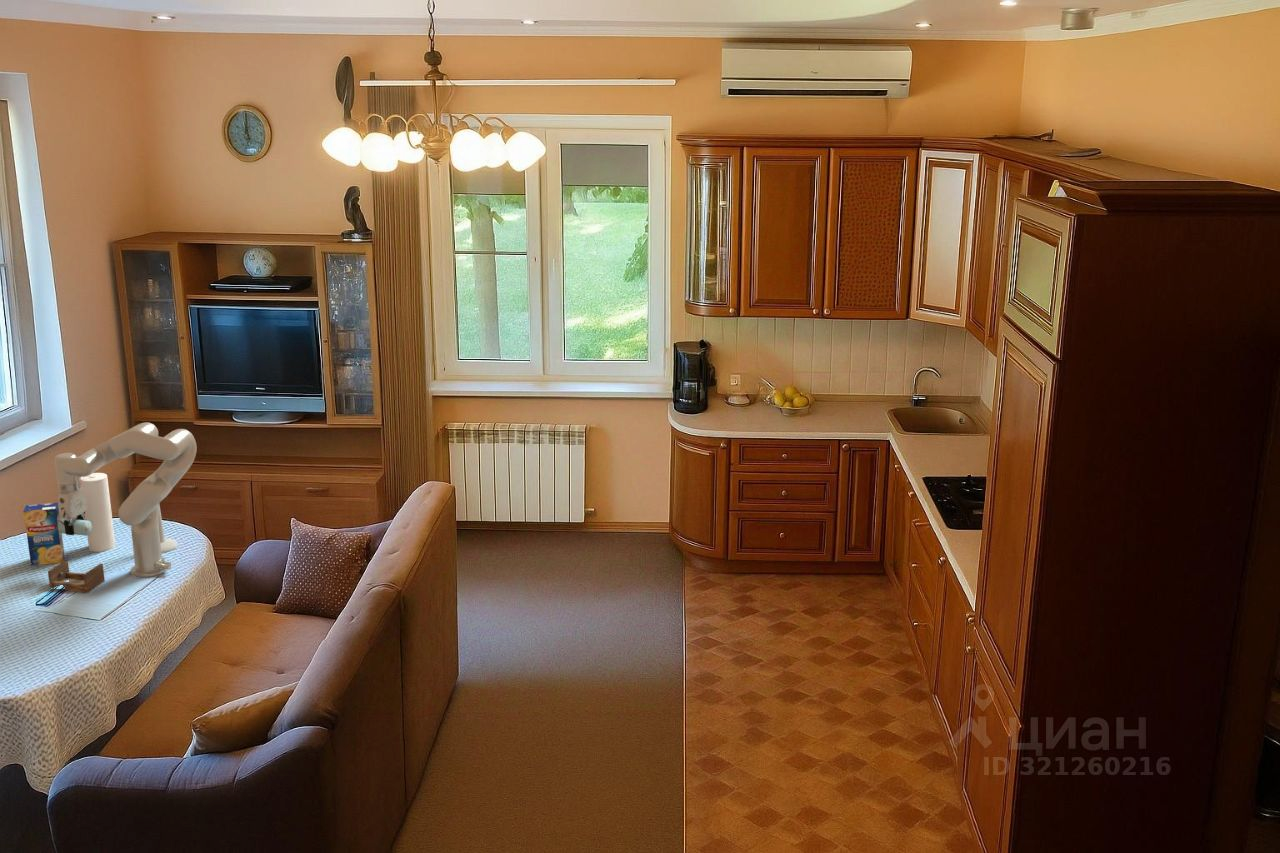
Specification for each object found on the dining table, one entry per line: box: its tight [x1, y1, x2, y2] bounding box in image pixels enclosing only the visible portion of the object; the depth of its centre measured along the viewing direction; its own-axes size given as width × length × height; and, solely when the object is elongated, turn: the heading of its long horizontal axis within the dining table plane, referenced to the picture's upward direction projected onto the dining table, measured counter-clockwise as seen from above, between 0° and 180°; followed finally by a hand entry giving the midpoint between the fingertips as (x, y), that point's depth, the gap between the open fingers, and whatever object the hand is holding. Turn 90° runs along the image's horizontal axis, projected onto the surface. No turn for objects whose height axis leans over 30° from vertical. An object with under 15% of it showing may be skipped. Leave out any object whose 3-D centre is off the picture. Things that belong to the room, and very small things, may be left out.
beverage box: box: [23, 501, 66, 566], centre depth 425 cm, size 7×11×22 cm, turn 111°
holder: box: [47, 559, 106, 594], centre depth 408 cm, size 15×10×7 cm, turn 81°
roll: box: [58, 518, 92, 537], centre depth 417 cm, size 10×6×6 cm, turn 80°
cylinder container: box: [80, 472, 116, 553], centre depth 437 cm, size 9×9×30 cm
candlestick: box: [158, 504, 179, 554], centre depth 439 cm, size 13×13×30 cm
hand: (75, 531), depth 418 cm, fingers closed on roll, 5 cm apart
